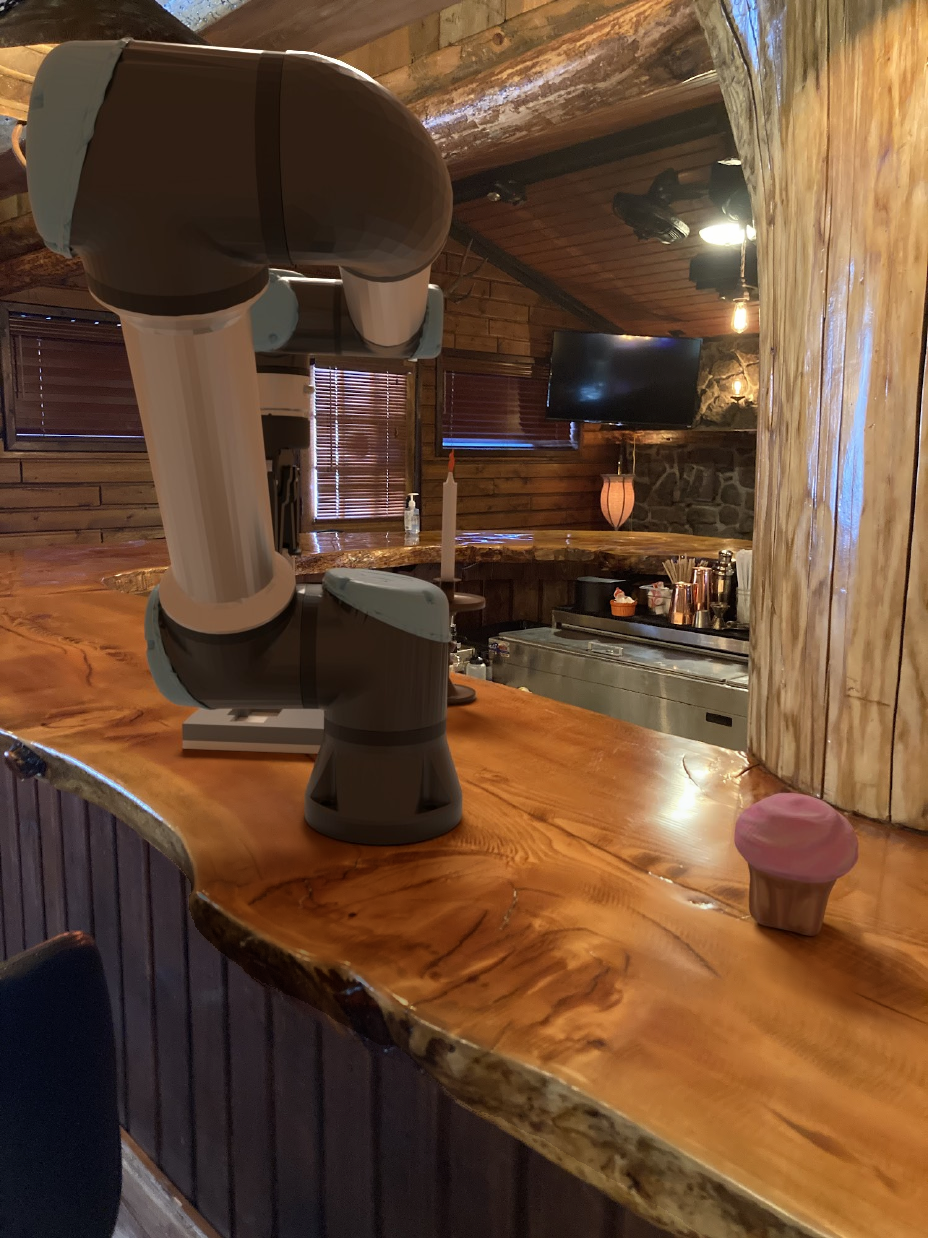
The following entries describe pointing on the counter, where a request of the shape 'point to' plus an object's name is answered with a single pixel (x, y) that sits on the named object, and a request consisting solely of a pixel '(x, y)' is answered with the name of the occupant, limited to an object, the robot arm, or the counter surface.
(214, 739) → the grey panel with recess
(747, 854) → the cupcake
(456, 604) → the candlestick
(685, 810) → the counter surface
